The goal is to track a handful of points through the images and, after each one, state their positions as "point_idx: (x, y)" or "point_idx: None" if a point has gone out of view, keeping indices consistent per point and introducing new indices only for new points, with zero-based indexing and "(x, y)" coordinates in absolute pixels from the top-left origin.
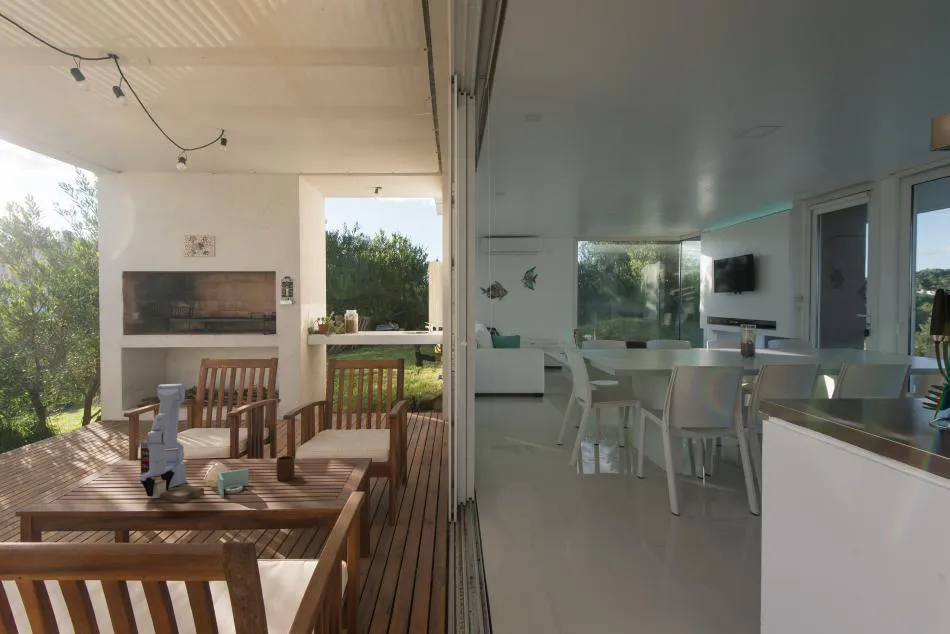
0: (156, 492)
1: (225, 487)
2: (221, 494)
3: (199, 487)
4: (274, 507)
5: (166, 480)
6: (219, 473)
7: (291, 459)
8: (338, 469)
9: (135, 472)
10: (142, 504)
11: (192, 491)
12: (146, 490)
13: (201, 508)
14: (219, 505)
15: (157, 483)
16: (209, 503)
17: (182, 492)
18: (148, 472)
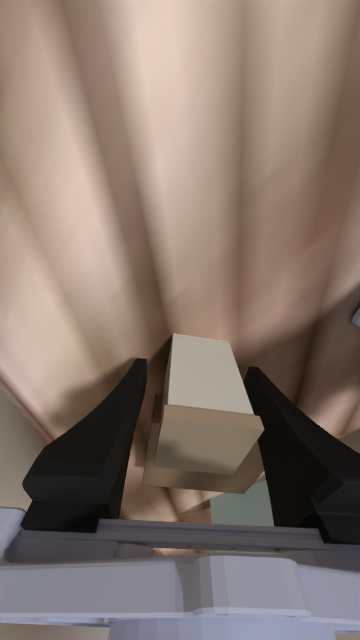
0: (163, 399)
1: None
2: (211, 509)
3: (248, 485)
4: (165, 548)
5: (269, 446)
6: None
7: None
8: None
9: None
10: (81, 367)
11: (199, 487)
12: (122, 385)
13: (124, 499)
14: (152, 511)
15: (159, 465)
16: (160, 498)
17: (183, 473)
18: (119, 605)
